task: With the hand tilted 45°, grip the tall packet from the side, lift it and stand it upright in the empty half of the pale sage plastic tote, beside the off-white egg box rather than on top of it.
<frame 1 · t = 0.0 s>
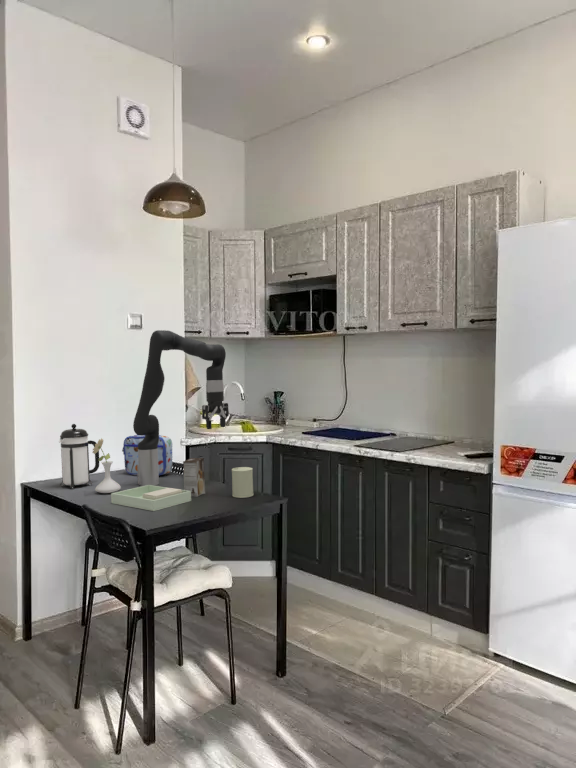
hand: (216, 428, 270), 29 cm above the table, tool pointing down, fingers open, 8 cm apart
lunch box: (147, 475, 325), on the table
coffee press: (78, 485, 301), on the table
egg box: (162, 503, 253), point 1 cm above the table, touching tote
flower in vase: (106, 493, 283), on the table
tote: (151, 504, 257), on the table
can: (242, 495, 269), on the table
coffee box: (194, 496, 270), on the table
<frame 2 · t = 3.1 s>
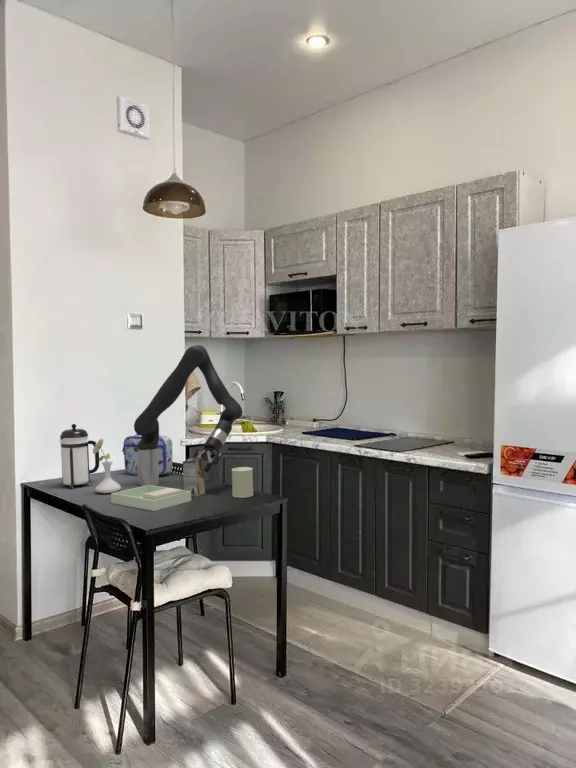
hand: (198, 470, 272), 11 cm above the table, tool tilted 45°, fingers open, 8 cm apart
coffee box: (194, 496, 270), on the table, touching gripper
everything else where it was.
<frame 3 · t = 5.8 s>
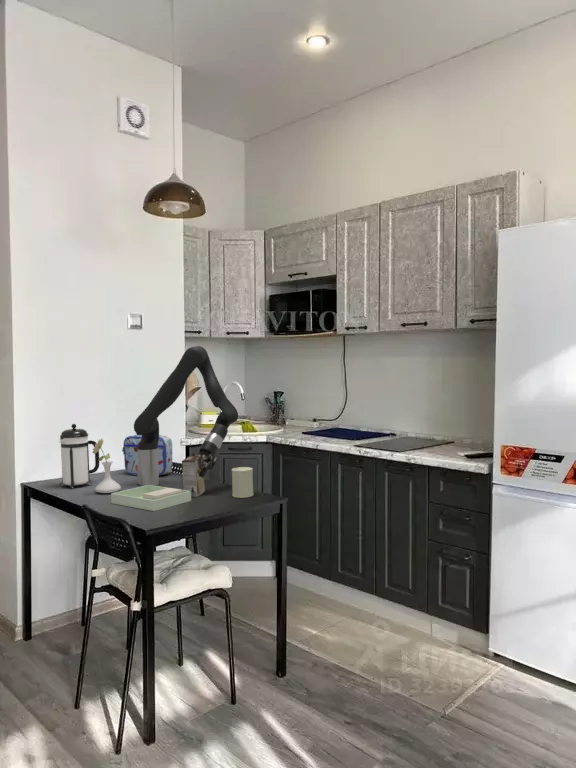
hand: (193, 475, 270), 9 cm above the table, tool tilted 45°, fingers closed on coffee box, 8 cm apart
coffee box: (194, 494, 270), point 1 cm above the table, touching gripper
everything else where it was.
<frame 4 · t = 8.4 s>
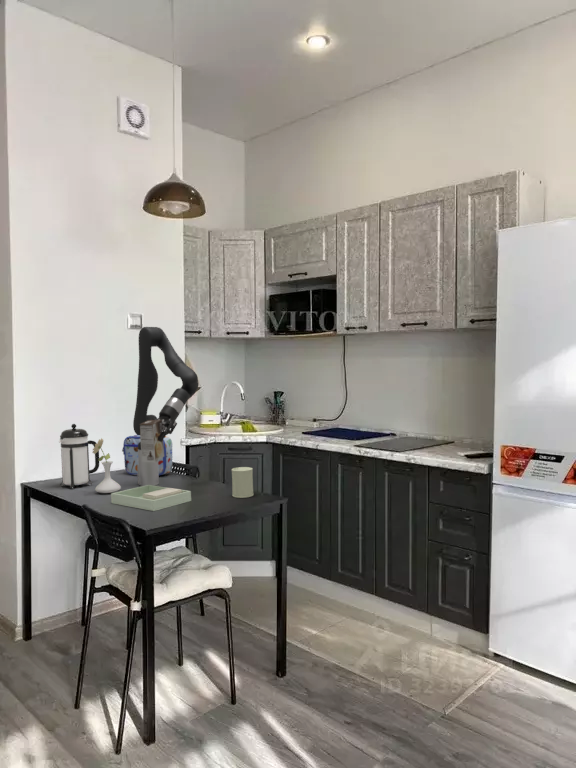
hand: (152, 439, 262), 26 cm above the table, tool tilted 45°, fingers closed on coffee box, 8 cm apart
coffee box: (153, 459, 262), point 18 cm above the table, touching gripper
everything else where it was.
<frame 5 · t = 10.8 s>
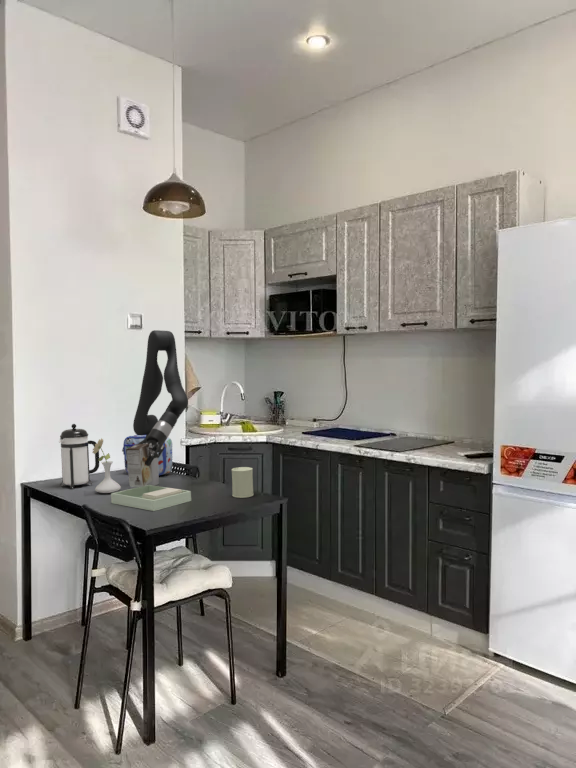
hand: (140, 464, 260), 16 cm above the table, tool tilted 45°, fingers closed on coffee box, 8 cm apart
coffee box: (141, 484, 260), point 8 cm above the table, touching gripper
everything else where it was.
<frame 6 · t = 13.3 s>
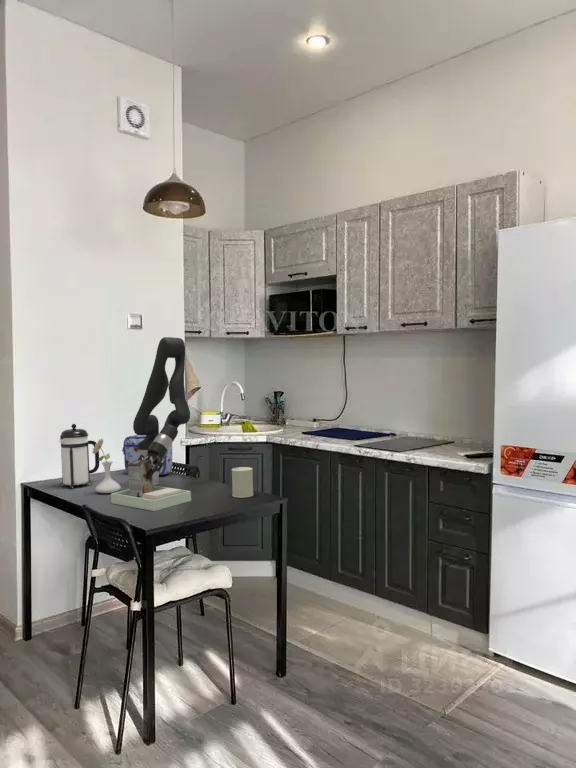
hand: (140, 477, 260), 11 cm above the table, tool tilted 45°, fingers closed on coffee box, 8 cm apart
coffee box: (141, 500, 261), point 1 cm above the table, touching gripper, tote
everything else where it was.
when the fingers open (11 cm above the table, at t = 13.6 s): coffee box stays where it is, resting on tote.
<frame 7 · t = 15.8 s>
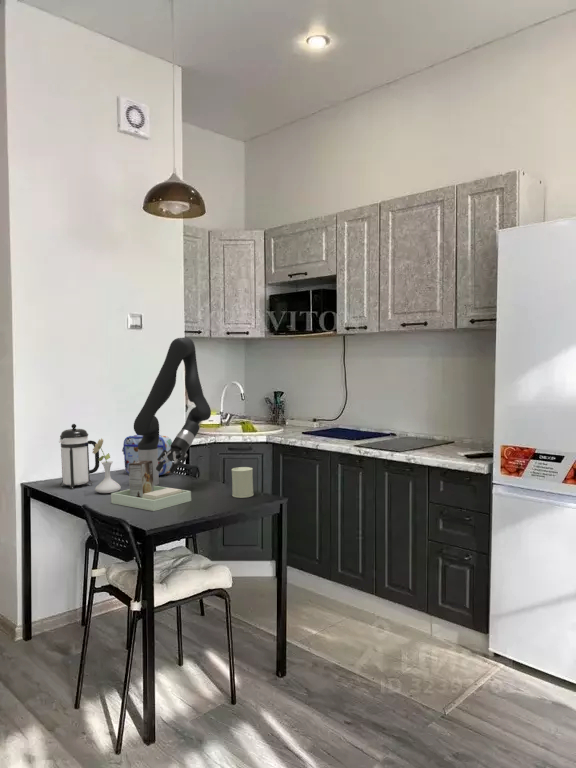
hand: (164, 471, 271), 11 cm above the table, tool tilted 45°, fingers open, 8 cm apart
coffee box: (142, 500, 261), point 1 cm above the table, touching tote
everything else where it was.
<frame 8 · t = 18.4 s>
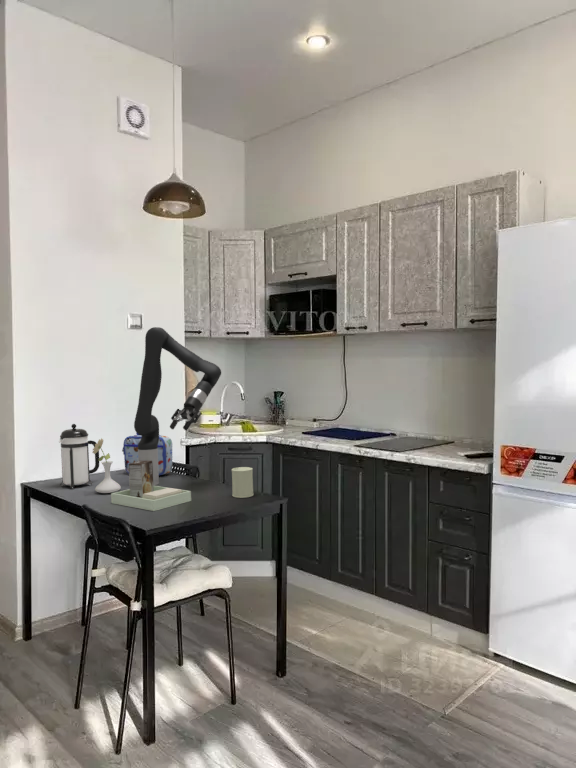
hand: (177, 428, 277), 29 cm above the table, tool tilted 45°, fingers open, 8 cm apart
nothing on the table moved.
at the end: coffee box inside the target area on the tote (0.2 cm from its centre), point 0.8 cm above the tote's base; coffee box tilted 0°; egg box moved 0.0 cm from its start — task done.
